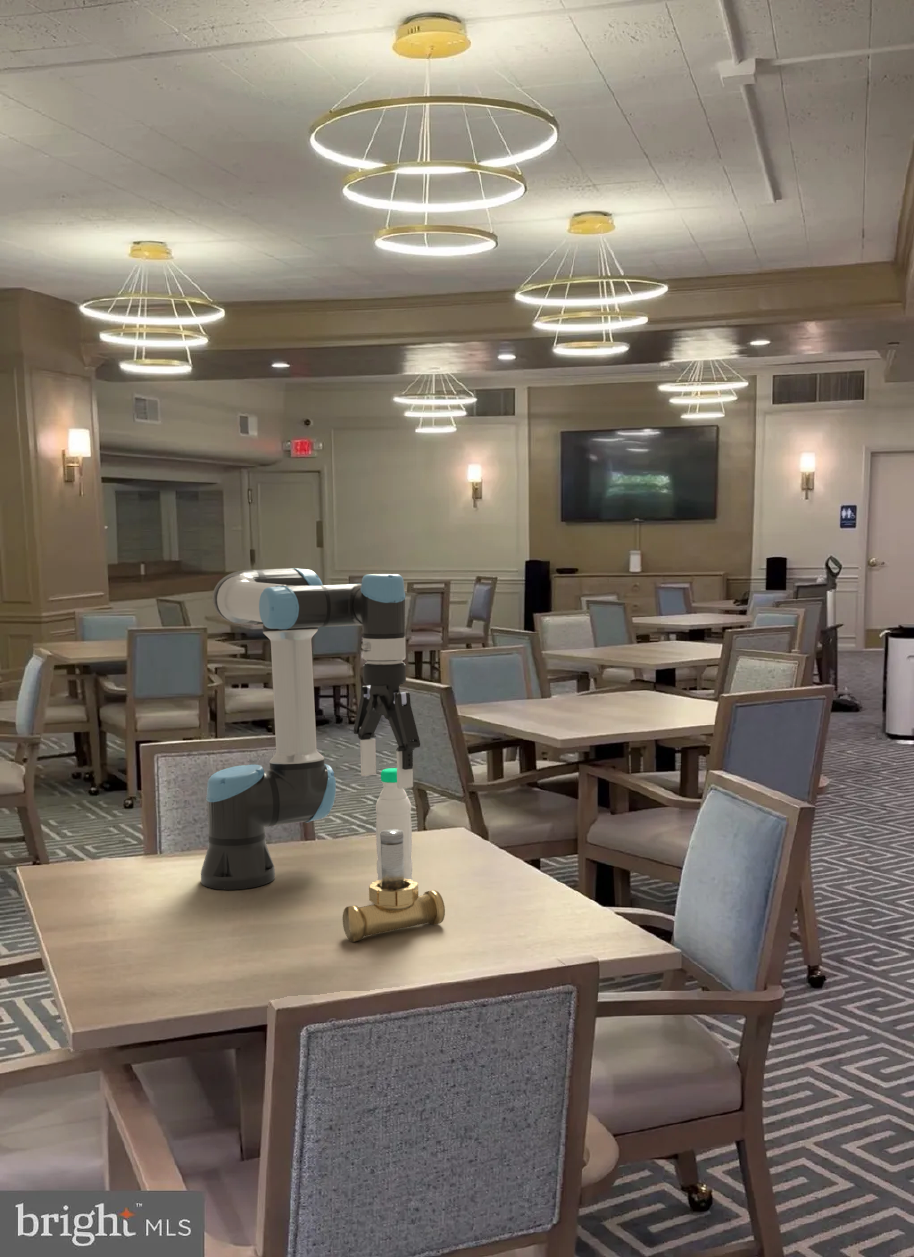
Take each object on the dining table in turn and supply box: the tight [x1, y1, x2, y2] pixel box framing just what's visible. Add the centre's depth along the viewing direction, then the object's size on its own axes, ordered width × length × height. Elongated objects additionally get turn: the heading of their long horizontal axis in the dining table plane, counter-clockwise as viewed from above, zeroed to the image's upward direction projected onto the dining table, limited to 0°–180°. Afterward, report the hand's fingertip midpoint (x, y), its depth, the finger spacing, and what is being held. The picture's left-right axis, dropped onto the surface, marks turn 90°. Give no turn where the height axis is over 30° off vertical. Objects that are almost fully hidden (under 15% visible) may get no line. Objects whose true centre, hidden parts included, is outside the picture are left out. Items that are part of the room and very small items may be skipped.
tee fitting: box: [342, 879, 446, 943], centre depth 202 cm, size 17×8×8 cm, turn 122°
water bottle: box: [375, 767, 413, 881], centre depth 224 cm, size 7×7×25 cm
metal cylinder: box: [380, 829, 405, 890], centre depth 201 cm, size 4×4×12 cm
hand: (386, 781), depth 201 cm, fingers open, 13 cm apart
